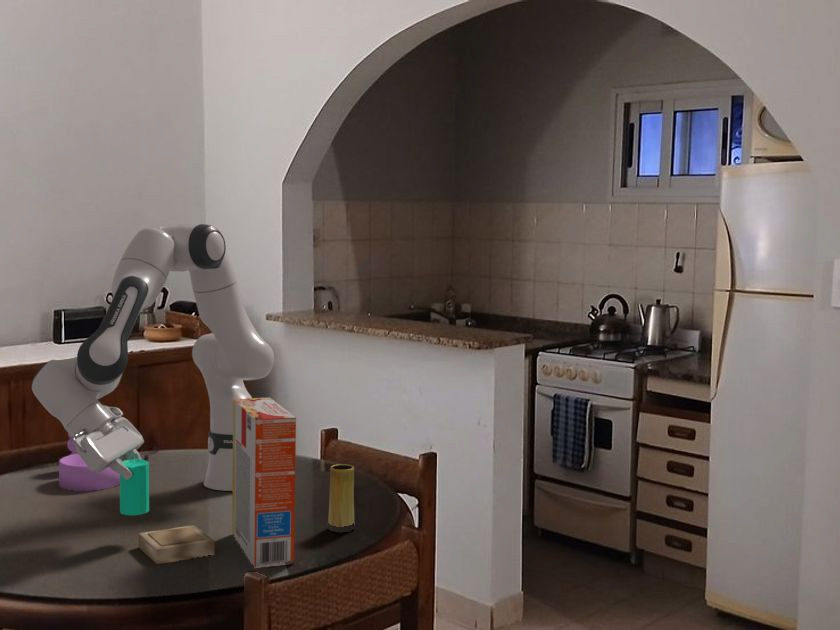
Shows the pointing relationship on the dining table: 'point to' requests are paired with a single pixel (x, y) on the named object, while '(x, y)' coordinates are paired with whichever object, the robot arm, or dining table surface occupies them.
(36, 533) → the dining table surface
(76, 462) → the container set
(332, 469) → the vase
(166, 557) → the base block
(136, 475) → the candle
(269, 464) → the cereal box
